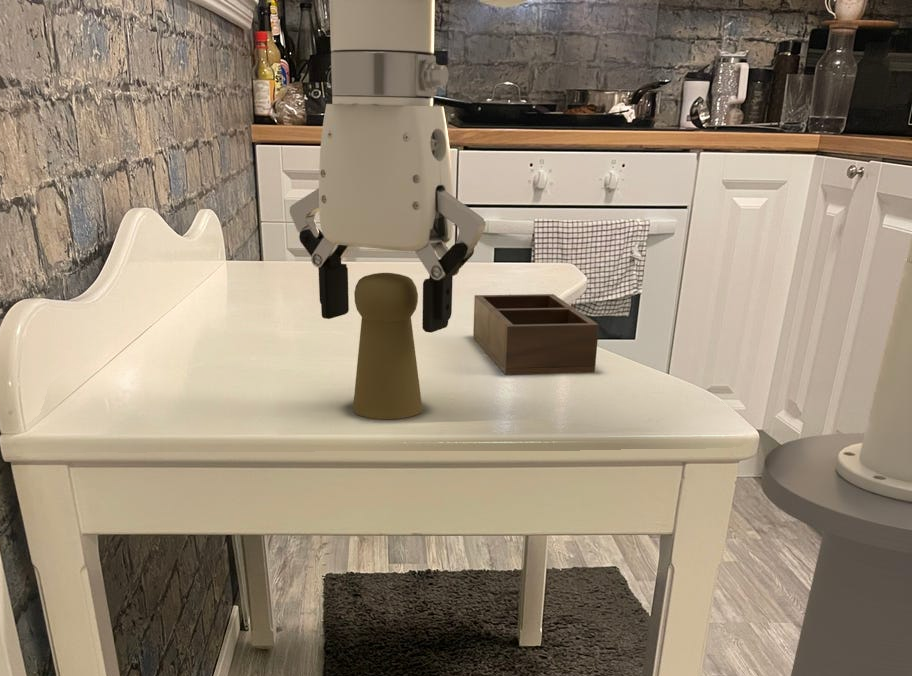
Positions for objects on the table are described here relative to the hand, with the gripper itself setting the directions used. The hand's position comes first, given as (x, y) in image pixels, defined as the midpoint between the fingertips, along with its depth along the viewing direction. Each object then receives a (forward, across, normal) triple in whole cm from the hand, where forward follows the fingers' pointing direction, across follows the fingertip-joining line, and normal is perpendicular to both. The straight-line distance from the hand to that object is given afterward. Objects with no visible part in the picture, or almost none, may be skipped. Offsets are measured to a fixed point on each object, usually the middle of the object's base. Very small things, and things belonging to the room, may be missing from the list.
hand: (384, 322), depth 79 cm
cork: (+7, 0, 0) cm, 7 cm away
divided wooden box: (+7, -2, -26) cm, 27 cm away
